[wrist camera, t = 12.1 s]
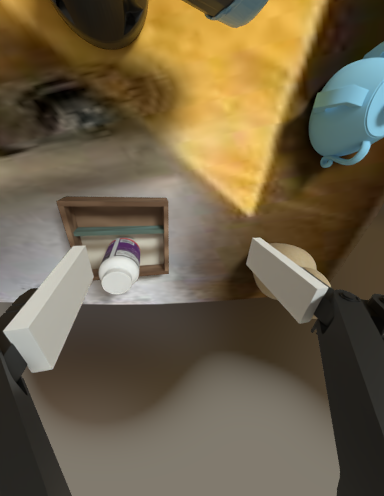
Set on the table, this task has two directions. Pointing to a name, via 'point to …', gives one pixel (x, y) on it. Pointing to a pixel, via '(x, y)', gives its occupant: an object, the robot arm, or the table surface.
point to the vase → (297, 257)
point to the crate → (118, 228)
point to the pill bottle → (120, 265)
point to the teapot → (350, 111)
